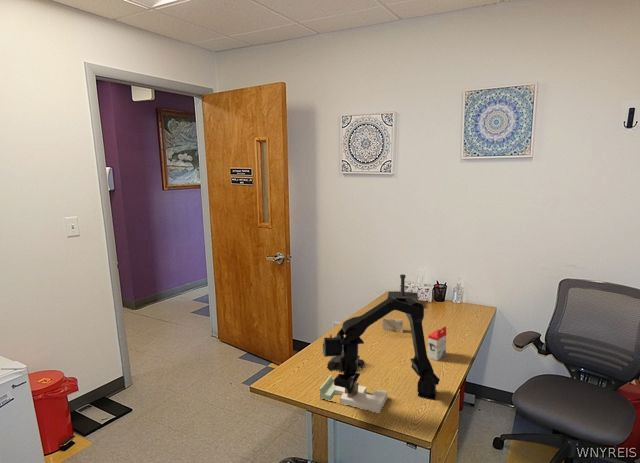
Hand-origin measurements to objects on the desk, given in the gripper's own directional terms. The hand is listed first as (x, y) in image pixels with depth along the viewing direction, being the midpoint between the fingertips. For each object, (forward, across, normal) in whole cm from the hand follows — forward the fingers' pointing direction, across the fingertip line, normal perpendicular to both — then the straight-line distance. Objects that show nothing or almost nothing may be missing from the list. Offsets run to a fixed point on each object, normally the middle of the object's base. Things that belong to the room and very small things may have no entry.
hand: (349, 393), depth 146 cm
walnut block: (+1, -2, 0) cm, 3 cm away
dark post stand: (0, -117, -4) cm, 117 cm away
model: (+2, -72, 0) cm, 72 cm away
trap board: (+4, -4, 0) cm, 6 cm away
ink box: (+2, -51, +26) cm, 57 cm away
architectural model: (+4, -27, -16) cm, 32 cm away
